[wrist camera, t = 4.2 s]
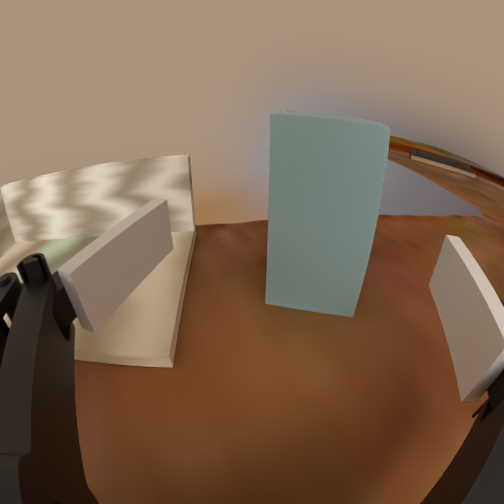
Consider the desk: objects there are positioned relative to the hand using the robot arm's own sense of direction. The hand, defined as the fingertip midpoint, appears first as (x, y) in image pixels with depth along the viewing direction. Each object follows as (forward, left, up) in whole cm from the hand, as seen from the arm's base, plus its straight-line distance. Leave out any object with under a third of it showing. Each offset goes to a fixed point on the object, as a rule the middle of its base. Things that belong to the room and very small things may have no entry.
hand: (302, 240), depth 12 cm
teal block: (-1, -6, -7) cm, 9 cm away
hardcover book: (-40, -81, -8) cm, 91 cm away
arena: (+20, 0, -7) cm, 21 cm away
